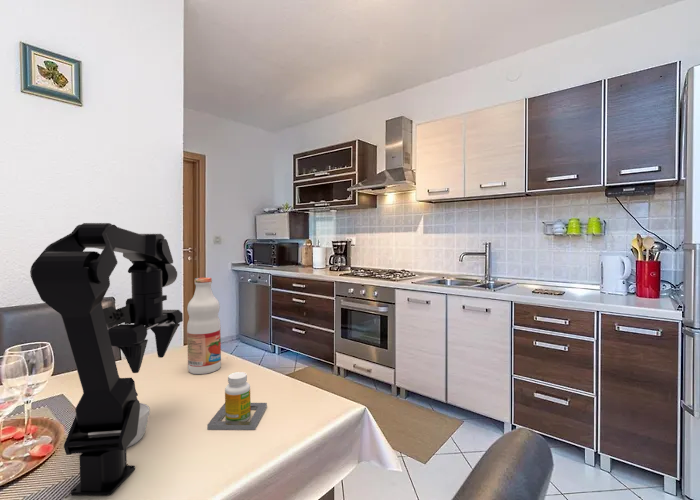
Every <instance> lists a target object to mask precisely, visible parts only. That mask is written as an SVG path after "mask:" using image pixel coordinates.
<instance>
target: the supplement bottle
mask: <svg viewBox="0 0 700 500" xmlns="http://www.w3.org/2000/svg"><path fill="white" fill-rule="evenodd" d="M227 383H228V384H227V385H226V386H225V388H224V403H225V416H224V418H225V421H248V420H249V419H250V418H251V411H252V410H251V403H252V402H251V385H250V383H249V382H248V374H247V372H244V371H237V372H236V371H235V372H232V373H230V374H229V375H228V376H227Z"/></svg>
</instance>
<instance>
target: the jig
mask: <svg viewBox="0 0 700 500" xmlns="http://www.w3.org/2000/svg"><path fill="white" fill-rule="evenodd" d="M267 408H268V403H267V402H251V411H255V412H254V413H253V416H252V417H250V418H251V419H250V420H249V421H248V420H247V421H226V420H225V421H224V420H223V418H225V402H224V403H223V405H222V406H221V407H220V408H219V410H218V411H217V412H216V413H215V414H214V416H213V417H212V418H211V420H209V422H208V423H207V424H206V425H207V427H206V428H207V430H213V431H215V430H218V431H220V430H226V431H227V430H229V431H230V430H232V431H234V430H235V431H236V430H237V431H239V430H240V431H242V430H243V431H252V430H253V431H255V430H256V429H257V426H258V425H259V423H260V421H261V419H262V417H263V415H264V413H265V411H266V410H267Z"/></svg>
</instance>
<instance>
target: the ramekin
mask: <svg viewBox="0 0 700 500" xmlns="http://www.w3.org/2000/svg"><path fill="white" fill-rule="evenodd" d="M150 410H151V409H150V407H149V405H147V404H145V403H143V402H140V413H139V421H138V429H137V435H136V437H135V438H134V439H133V440H132V441H131V443H130V444H129V445H128V446H127V448H129V447H131V446H133V445H135V444H137V443H138V442H139V441H140V440H141V439H142V437H143V436H144V435H145V434H146V429H147V424H148V419H149V416H150V413H151V411H150ZM121 431H122V430H119V431H106V432H93V433H88V435H95V434H108V433H121Z"/></svg>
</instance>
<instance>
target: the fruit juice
mask: <svg viewBox="0 0 700 500" xmlns="http://www.w3.org/2000/svg"><path fill="white" fill-rule="evenodd" d="M212 283H213V279H212V277H196V278H194V285H195V290H194V294H193V296H192V298H191V299H190V300H189V302H188V303H187V314H188V317H189V318H188V321H187V326H186V334H187V335H186V336H187V337H186V338H187V370H188V372H189V373H190V374H193V375H206V374H209V373H210V374H211V373H214V372H216V371H218V370H220V368H221V366H222V348H221V347H222V346H221V345H222V342H221V341H222V340H221V339H222V338H221V327H222V326H221V320H220V317H219V312H220V308H221V306H220V302H219V300H218V299H217V297H215V295H214V293H213V290H212Z"/></svg>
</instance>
